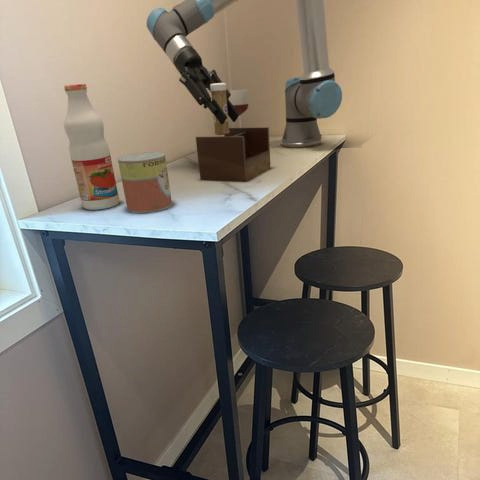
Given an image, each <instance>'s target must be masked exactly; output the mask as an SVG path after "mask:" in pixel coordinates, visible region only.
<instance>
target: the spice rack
mask: <svg viewBox="0 0 480 480" xmlns="http://www.w3.org/2000/svg"><path fill="white" fill-rule="evenodd" d="M229 131H230V132H229V133H228V134H224V135H221V136H196V137H195V144H196V151H197V161H198V171H199V179H200V181H216V182H217V181H219V182H241V183H242V182H244V183H246V182H247V181H250V180H251V179H253V178H255V177H257V176H259V175H260V174H262V173H264V172H266V171H268V170H270V169H271V145H270V144H271V143H270V127H269V126H262V127H260V126H255V127H254V126H252V127H249V126H248V127H241V128H240V127H229Z"/></svg>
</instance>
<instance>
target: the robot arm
mask: <svg viewBox="0 0 480 480" xmlns="http://www.w3.org/2000/svg"><path fill="white" fill-rule="evenodd" d="M238 1H239V0H183V1H182V2H180V3H178V4H176V5H175V6H172V9H170V11H168V10H166V9H165V8H164V7H159V8H158V7H156V8H154V9H153V10H151V11H150V12H149V14H148V16H147V18H146V28H147V30H148V32H149V33H150V35H151V36H152V37H153V40H154V41H155V42H156V43H157V44H158V46H159V47H160V48H161V50H162V51H163V52H164V53H165V55H166V57H168V59H169V60H170V62H171V64H173V66H174V67H175V69H176V70H177V72H178V74H180V77H179V79H178V81H179V82H180V83H181V84H182V85H183V86H184V87H185V89H186V90H187V91H188V92H189V93H190V94H191V96H192V97H193V98H194V100H195V101H196V103H197V104H198V105H199V106H202V108H204V109H208V110H209V111H210V112H211V114H212V115H213V114H214V115H215V117H216V118H217V119H218V121H219V122H220V123H221V125H222V124H224V122H225V120H226V119H227V116H226V114H225V113H224V112H223V110H222V109H221V108H220V106H219V105H218V104H217V102H216V101H215V100H214V99H213V100H212V96H211V95H210V93H211V90H210V85H211V84H215V83H223V81H222V80H221V78H220V77H219V75H218V73H217V71H216V70H215V69H212V70H208V69H207V68H206V66H204V65H203V59H202V57H201V55H200V54H199V53H198V52H197V50H196V49H195V48H194V45H192V43H191V41H189V39H188V38H187V36H188V35H190V34H191V33H194V32H195V31H196V30H198V29H199V28H201V27H202V26H204V25H206V24H208V22H209V21H210V20H212V19H214V17H215V15H217V14H219V13H220V12H221V11H223V10H225V9H227V8H228V7H230V6H231V5H233V4H235V3H236V2H238ZM324 2H325V1H324V0H295V9H296V17H297V26H298V35H299V36H298V37H299V44H300V45H299V46H300V53H301V61H302V62H301V63H302V70H303V71H302V74H301V75H300V76H299V77H293V78H290V79H287V80H286V81H285V85H284V97H285V98H284V101H285V103H284V104H285V127H284V130H283V132H282V135H281V137H282V138H281V146H282V147H284V148H290V149H291V148H293V149H294V148H295V149H296V148H299V149H300V148H310V147H316V146H320V145H322V135H323V134H321V132H320V129H319V125H318V120H319V119H328V118H330V117H332V116H333V115H334V114H336V112H337V111H338V109H339V108H340V107H341V104H342V101H343V91H342V88H341V86H340V85H339V84H338V83H337V82H336V76H335V71H334V70H333V69H332V68H331V67H330V62H329V60H330V59H329V49H328V39H327V26H326V14H325V3H324ZM226 89H227V90H226V98H227V108H228V118H230V120H231V122H233V123H235V122H237V119H239V114H238V112H237V111H236V110H235V108H234V106H233V105H232V103H231V102H230V101H229V97H230V95H231V94H230V92H229V91H230V90H229V89H228V88H227V87H226ZM209 91H210V93H209Z"/></svg>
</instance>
